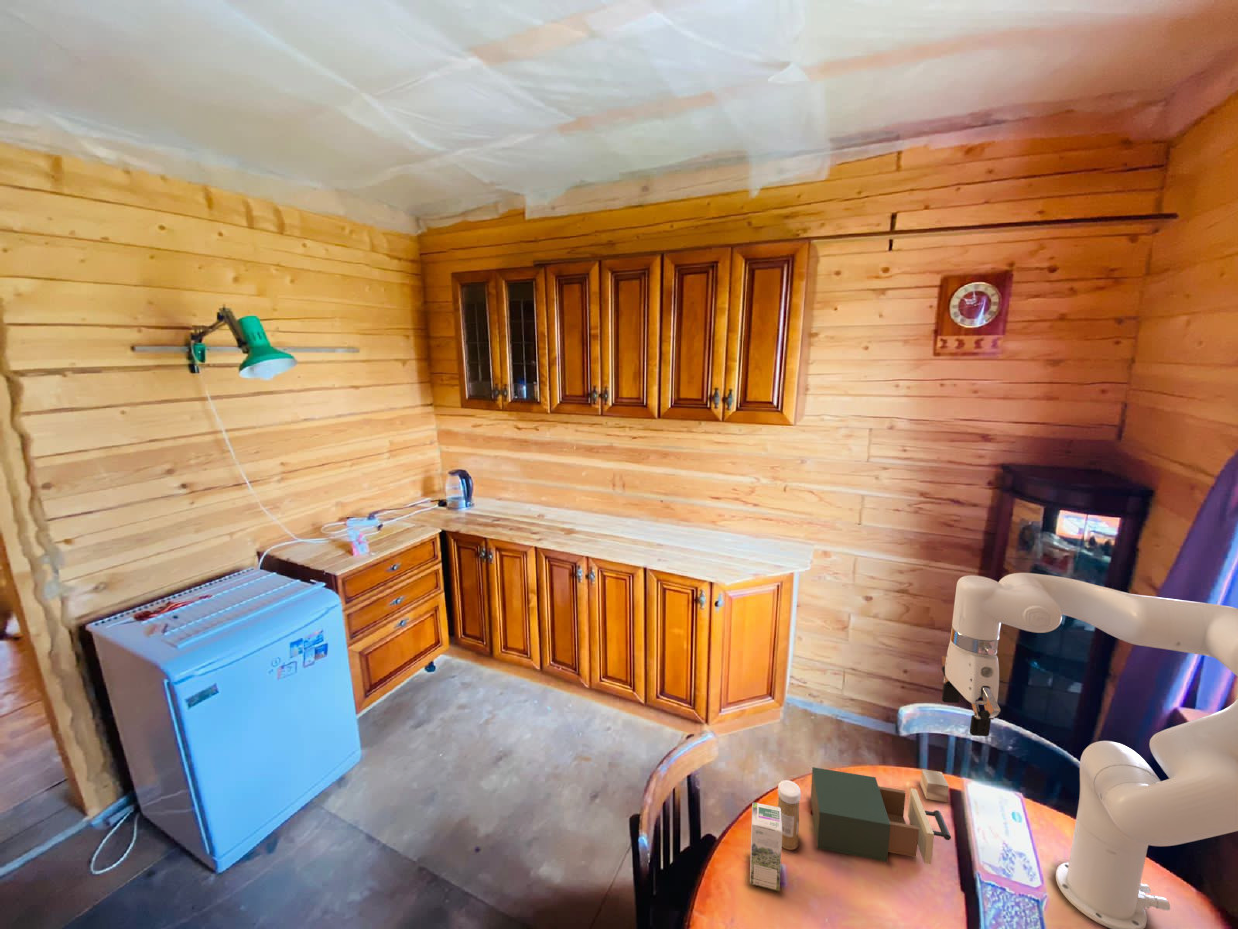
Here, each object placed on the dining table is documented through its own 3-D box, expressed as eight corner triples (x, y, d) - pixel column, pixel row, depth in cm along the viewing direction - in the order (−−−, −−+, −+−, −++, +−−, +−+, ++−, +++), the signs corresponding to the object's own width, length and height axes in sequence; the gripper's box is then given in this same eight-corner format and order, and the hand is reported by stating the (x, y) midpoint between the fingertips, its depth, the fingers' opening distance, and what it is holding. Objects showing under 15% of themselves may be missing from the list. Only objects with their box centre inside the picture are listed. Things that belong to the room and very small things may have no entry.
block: (940, 787, 122) (941, 772, 121) (947, 802, 118) (948, 786, 117) (920, 784, 123) (921, 768, 122) (926, 799, 119) (927, 783, 118)
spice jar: (802, 843, 108) (805, 789, 106) (788, 855, 106) (791, 800, 104) (785, 828, 112) (787, 775, 110) (771, 838, 110) (773, 785, 107)
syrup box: (778, 865, 104) (781, 805, 101) (779, 893, 98) (782, 830, 96) (750, 859, 105) (752, 799, 103) (749, 886, 100) (751, 824, 97)
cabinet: (872, 811, 116) (875, 777, 114) (887, 862, 104) (890, 824, 102) (810, 800, 119) (812, 767, 118) (817, 848, 107) (819, 812, 106)
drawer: (934, 821, 112) (937, 792, 111) (954, 869, 101) (957, 838, 100) (853, 806, 116) (855, 779, 115) (864, 851, 105) (866, 822, 104)
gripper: (1025, 666, 89) (1013, 750, 92) (967, 618, 106) (958, 691, 109) (981, 664, 89) (970, 748, 93) (930, 617, 106) (922, 690, 109)
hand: (963, 717), depth 101 cm, fingers open, 9 cm apart
